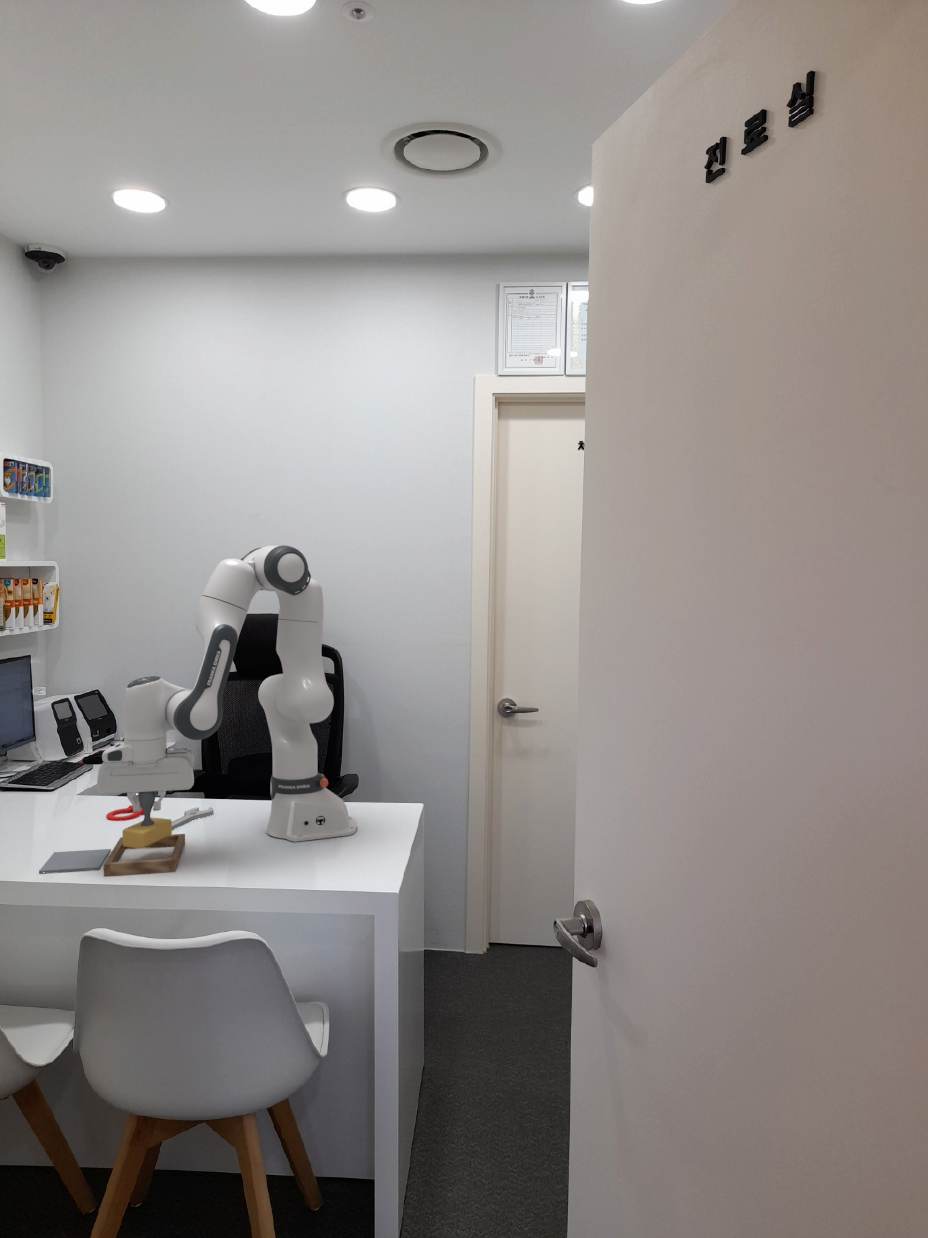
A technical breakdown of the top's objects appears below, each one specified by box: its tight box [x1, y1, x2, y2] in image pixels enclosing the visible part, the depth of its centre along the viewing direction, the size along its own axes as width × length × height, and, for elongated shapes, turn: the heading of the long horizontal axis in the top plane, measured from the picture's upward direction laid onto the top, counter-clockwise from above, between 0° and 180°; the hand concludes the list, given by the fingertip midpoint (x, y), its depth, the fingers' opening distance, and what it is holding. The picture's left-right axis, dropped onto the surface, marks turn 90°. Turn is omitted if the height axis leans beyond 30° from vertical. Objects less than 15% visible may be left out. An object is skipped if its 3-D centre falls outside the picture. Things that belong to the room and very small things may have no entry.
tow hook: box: [105, 792, 144, 822], centre depth 217 cm, size 8×13×9 cm
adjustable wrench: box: [171, 806, 214, 831], centre depth 211 cm, size 25×6×2 cm, turn 159°
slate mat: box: [38, 848, 112, 874], centre depth 183 cm, size 12×12×1 cm
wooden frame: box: [103, 833, 186, 877], centre depth 185 cm, size 14×18×2 cm
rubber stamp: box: [122, 791, 173, 850], centre depth 185 cm, size 10×6×12 cm, turn 163°
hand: (147, 810), depth 185 cm, fingers closed on rubber stamp, 3 cm apart
